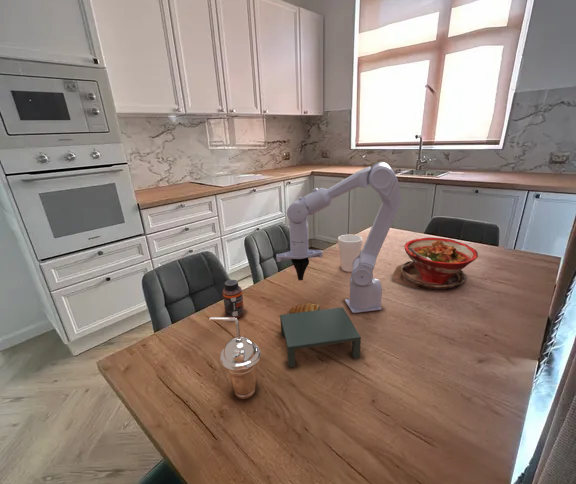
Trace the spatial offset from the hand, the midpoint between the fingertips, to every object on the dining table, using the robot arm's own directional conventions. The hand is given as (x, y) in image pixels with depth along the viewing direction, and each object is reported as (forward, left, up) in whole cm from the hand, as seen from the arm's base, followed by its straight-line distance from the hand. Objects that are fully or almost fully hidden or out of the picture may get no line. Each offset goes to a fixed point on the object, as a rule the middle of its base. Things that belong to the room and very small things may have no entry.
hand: (300, 279), depth 102 cm
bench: (0, +24, -8) cm, 25 cm away
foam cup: (-24, -20, -8) cm, 33 cm away
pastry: (0, +10, -8) cm, 13 cm away
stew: (-50, -4, -8) cm, 50 cm away
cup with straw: (+20, +36, -8) cm, 42 cm away
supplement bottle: (+22, +4, -8) cm, 24 cm away
